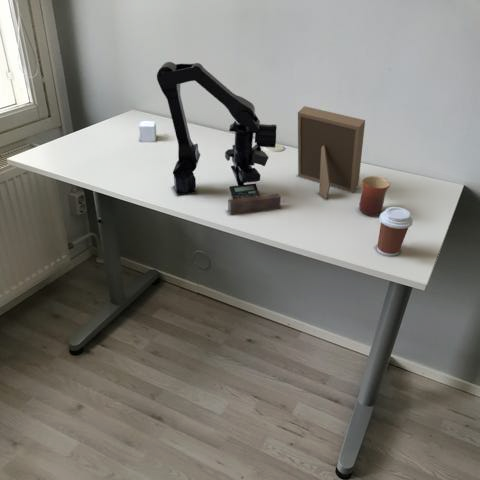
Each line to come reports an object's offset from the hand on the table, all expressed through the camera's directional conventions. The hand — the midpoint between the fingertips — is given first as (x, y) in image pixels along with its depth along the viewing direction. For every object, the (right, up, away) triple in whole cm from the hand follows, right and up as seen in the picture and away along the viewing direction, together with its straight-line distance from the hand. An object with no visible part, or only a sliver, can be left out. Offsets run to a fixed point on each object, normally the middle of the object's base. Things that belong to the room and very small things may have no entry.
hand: (240, 188), depth 167 cm
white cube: (-38, +30, +36) cm, 61 cm away
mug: (+43, -9, -6) cm, 45 cm away
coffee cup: (+43, -25, -25) cm, 56 cm away
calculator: (+2, -5, -3) cm, 6 cm away
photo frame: (+28, +2, +6) cm, 29 cm away
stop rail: (+4, -9, -9) cm, 14 cm away
